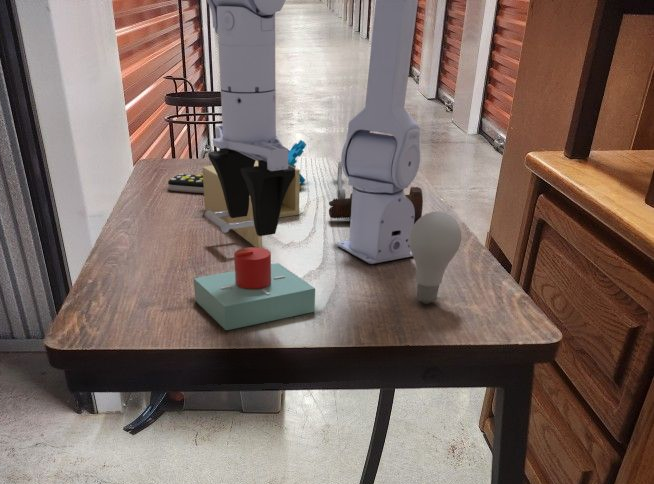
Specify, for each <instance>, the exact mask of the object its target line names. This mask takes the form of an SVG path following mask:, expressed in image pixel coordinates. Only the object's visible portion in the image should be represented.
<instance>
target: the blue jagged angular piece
mask: <svg viewBox="0 0 654 484" xmlns="http://www.w3.org/2000/svg"><path fill="white" fill-rule="evenodd" d="M306 146H307V143H306V142H305V141H304V140H302V139H300V140H299V142H298V143H297V142H295V143H294V144H293V145H292V146H291V148H290V149H288V165H290V166H292V167H294V168H297V166H296V165H295V164H297V158H298V157H301V156H302V155H303V153H304V149H305V148H306ZM305 182H306V179H305V177H303V175H302V174H301V173H300V184H302V185H303V184H304V183H305ZM301 188H302V187H301V185H300V189H301Z"/></svg>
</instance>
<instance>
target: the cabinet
mask: <svg viewBox="0 0 654 484" xmlns="http://www.w3.org/2000/svg"><path fill="white" fill-rule="evenodd" d="M254 166H258V161H255V164H254ZM289 166H290V165H289ZM291 167H292V166H291ZM300 174H301V170H300V169H299V168H297V167H295V177H294V178H293V180H292V182H291V184H290V186H289V188H288V190H287V192H286V195H285V197H284V200H283V203H282V207H281V211H280V215H279V219H280V218H286V217H291V216H299V215H300V189H301V188H300V186H301V185H300V184H301V182H300ZM202 176H203V184H204V193H203V195H204V197H203V198H204V199H203V200H204V211H205V212H206V211H207V210H211V211H212V212H219V211H226V210H227V208H226V202H225V198H224V194H223V190H222V186H221V183H220V180H219V178H218V175H217V173H216V170H215V168H214V166H213V164H211V165H205V166H202ZM220 218H221V219H223V220H224V221H225V222H227V216H226V217H220Z"/></svg>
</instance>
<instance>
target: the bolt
mask: <svg viewBox="0 0 654 484" xmlns="http://www.w3.org/2000/svg"><path fill="white" fill-rule="evenodd" d="M349 196H350V197H346V198H342V199H341V198H340V199H339V198H338V197H337V198H335V197H334V198H333V199H332V200H331V201H329V202H328V205H329V206H330V208H329V209H328V216H329V218H331V219H334V220H336V219H339V220H340V219H341V220H342V219H349V222H350V221H351V205H352V192H351V193H350V195H349ZM405 196H406V197H407V198H408V199H409V200H410V201H411V202H412V204H413V206H414V210H415V218H414V224H415V223H416V221H417V220H418V219H419V218H421V217H422V216H423V215H422V214H423V207H424V204H423V203H424V197H423V189H422V188H420V187H418V186H410V188H409V194H405Z"/></svg>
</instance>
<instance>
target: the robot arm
mask: <svg viewBox="0 0 654 484" xmlns="http://www.w3.org/2000/svg"><path fill="white" fill-rule="evenodd" d="M206 3H207V4H208V6H209V8H210V12H211V17H212V28H214V32H215V34H216V35H217V42H218V43H217V44H218V62H219V79H220V80H219V83H220V103H221V124H222V125H216V126H215V138H213V139H212V145H213V147H215V148H217V149H218V150H215V151H210V152H208V155H207V156H208V160H209V161H210V163H211V165H213V166H214V168H215V170H216V173H217V175H218V178H219V180H220V183H221V186H222V190H223V194H224V198H225V202H226V206H227V209H228V213H229V216H230V217H231V218H237V217H243V216H247V214H248V209H249V198H251V203H252V210H253V218H254V226H255V230H256V233H257V235H258V236H262V237H265V236H270V235H276V232H277V229H278V225H279V219H280V218H279V215H280V211H281V207H282V203H283V200H284V197H285V195H286V192H287V190H288V188H289V186H290V184H291V182H292V180H293V178H294V177H295V168H296V167H295V168H294V167H291V166H289V165H288V150H289V148H287V147H285V146H284V145H283V144H282V141H281V140H280V138H279V137H278V135H277V121H276V120H277V117H276V116H277V108H276V105H277V103H276V102H277V101H276V99H277V98H276V95H277V94H276V93H277V92H276V91H277V89H276V13H277V12H281V11H282V9H283V8H284V5H285V4H286V0H206ZM374 4H375V5H374V13H373V23H372V24H373V25H372V36H371V44H370V52H369V53H370V54H369V65H368V73H367V74H368V75H367V85H366V94H365V103H364V108H363V109H361V110H360V111H359V112H358V113H357V114H356V115H355V116H354V117H352V118H351V119H350V120H349V122H348V125H347V126H348V127H347V128H348V129H347V133H346V137H345V141H344V143H343V146H342V149H341V155H340V162H341V164H342V173H343V174H344V176H345V177H346V178H347V179H348V181H347V185H348V186H350V187H352V188H351V189H352V190H351V191H352V192H351V193H352V205H351V221H350V220H349V222H350V223H349V236H348V237H349V238H348V240H343V241H338V242H337V246H338V247H339V248H341V249H342V250H344V251H346V252H348V253H350V254H352V255H353V256H355V257H357V258H359V259H360V260H362V261H364V262H366V263H367V264H370V265H374V264H380V263H384V262H389V261H395V260H400V259H405V258H411V257H413V255H412V252H411V249H410V245H409V236H410V233H411V230H412V227H413V225H414V218H415V210H414V206H413V204H412V202H411V201H410V200H409V199H408V198H407V197H406V196H405V195H406V194H405V189H408V188H409V186H410V185H411V184H412V182H413V181H414V180H415V178H416V177H417V174H418V171H419V168H420V164H421V149H420V139H421V138H420V136H421V126H420V125H419V123H418V122H417V121H416V120H415V119H414V118H413V117H412V115H410V113H409V112H408V111H407V110H406V108H405V103H406V96H407V90H408V89H407V88H408V80H409V74H410V72H409V71H410V66H411V57H412V49H413V43H414V34H415V27H416V21H417V20H416V19H417V11H418V4H419V0H375V3H374ZM255 161H258V166H254V164H255Z"/></svg>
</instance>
